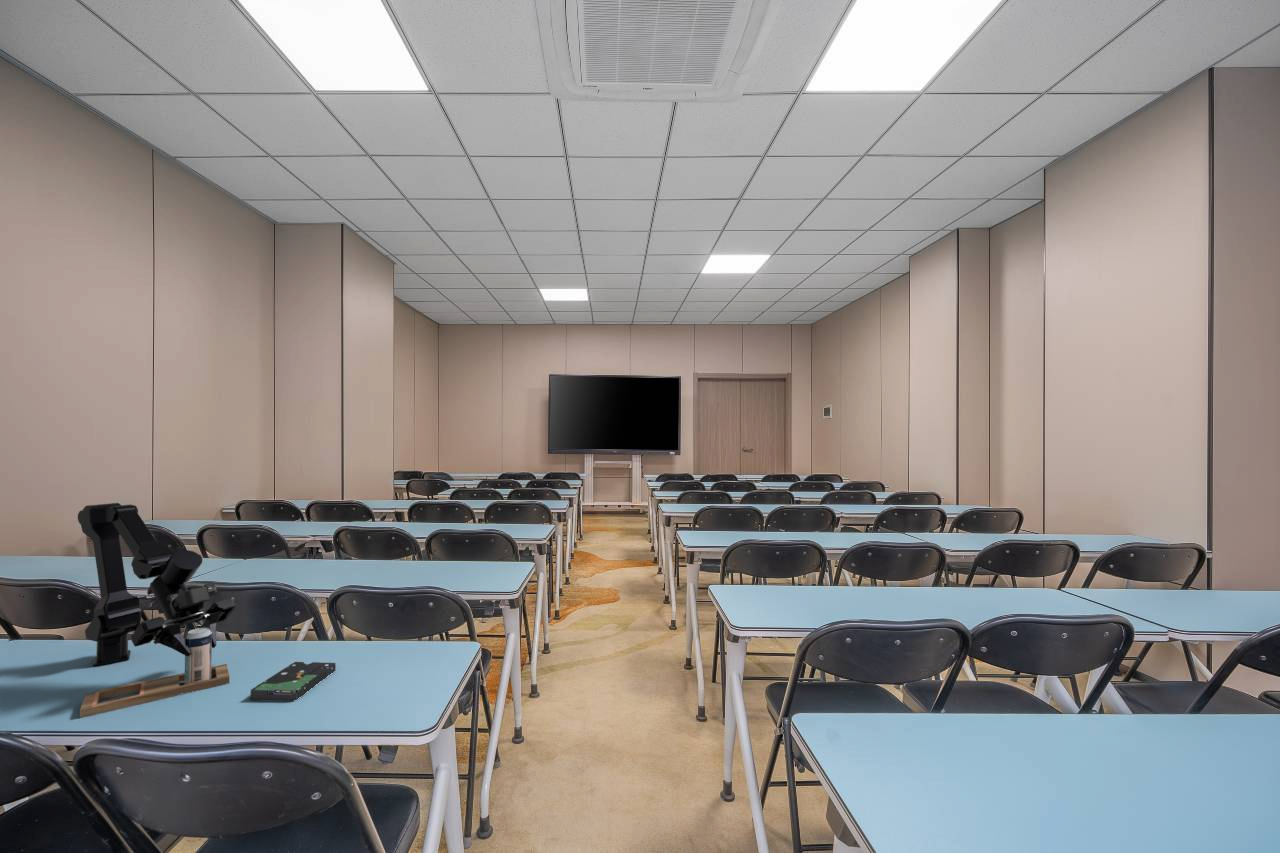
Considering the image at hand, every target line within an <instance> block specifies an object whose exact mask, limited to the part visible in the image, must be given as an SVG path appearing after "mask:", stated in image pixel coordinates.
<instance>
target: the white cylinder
mask: <svg viewBox="0 0 1280 853" xmlns="http://www.w3.org/2000/svg"><path fill="white" fill-rule="evenodd" d="M184 639H185V641H186V643H187V644H188V646H189V648H190V651H191V655H190V656H185V655H184V673H185V680H184V681H183V682H184V684H183V685H186V684H191V683H195V682H200V681H204V680H208V679H212V675H211V667H212V657H213V656H212V655H213V654H212V653H213V652H212V649H213V648H212V632H211V631H210V629H209V628H200V627H198V628H194V629H190V630H189V631H187V633H186V635H185V637H184Z"/></svg>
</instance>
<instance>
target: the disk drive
mask: <svg viewBox="0 0 1280 853" xmlns="http://www.w3.org/2000/svg"><path fill="white" fill-rule="evenodd" d="M336 665H337V664H336V662H320V661H319V662H317V661H314V662H311V663H308V664H307V663H305V662H304V661H294V662H293V663H290V664H289V665H288V666H286V667H284V668H283V669H281V670H279V671H278V672H277V673H275V674H274V675H272V676H270V677H269V678H267V679H266V680H264V681H263V682H261V683H259V684H257V685H256V686H254V687H252V688H251V689H250V701H265V700H282V701H281V702H295V701H294V700H297V699H298V698H299V697H301V696H302V697H304V696H305V695H306V694H307V693H306V692H307V691H309V690H310V689H311V688H313V687H314V686H315V685H316V684H318V683H319V682H320V681H322V680H323V679H325V678H326V677H327V676H328V675H330V674H331V673H333V672H334V671H335V672H336ZM335 672H334V673H335ZM334 673H333V674H334ZM330 676H331V675H330ZM326 679H327V678H326ZM326 679H325V680H326ZM322 682H323V681H322ZM318 685H319V684H318ZM314 688H315V687H314ZM314 688H313V689H314ZM310 691H311V690H310ZM310 691H309V692H310ZM305 693H306V694H305ZM304 694H305V695H304ZM303 695H304V696H303ZM302 697H301V698H302ZM299 699H300V698H299ZM299 699H298V700H299ZM288 700H289V701H288ZM298 700H297V701H298Z"/></svg>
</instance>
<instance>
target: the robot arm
mask: <svg viewBox="0 0 1280 853" xmlns="http://www.w3.org/2000/svg"><path fill="white" fill-rule="evenodd" d="M77 521H78V523H79V525H80V528H81V531H82V533H83V534H84V535H85V536H86V537H88V538H89V539H90V540H91V541H92V544H93V549H94V557H95V558H94V559H95V565H96V571H97V579H98V586H99V594H100V598H99V601H98V603H97V604H96V605H95V607H94V609H93V618H92V620H91V621H90V622H89V624H88V625H87V627H86V629H85V630H84V633H85V638H86V640H89V641H91V642H96V656H95V657H94V659H93V663H92V666H93V667H96V666H102V665H108V664H112V663H118V662H123V661H127V660H128V661H129V660H130V656H131V652H132V650H130V649H129V633H131V632H133V633H132V634H131V636H130V637H131V638H130V640H131V642H132V644H133V646H134V647H139V646H143V645H145V644H146V645H147V644H150V643H151V642H152V641H153V639H154V641H153V644H154V645H157V644H160V645H162V646H165V647H167V648H169V649H172V650H174V651H176V652H178V653H180V654H181V655H183V656H184V657H185V656H190V655H191V651H190V648H189V646H188V644H187V643H186V641H185V637H184V636H183V634H182V632H181V627H183V626H187V625H190V624H193V623H197V622H199V623H200V627H199V628H209V629H210V631H211V632H212V649H215V647H216V646H217V624H218V623H221V622H224V621H225V620H227V619H228V618H229V616H230V615H231V614H232V612H233V611H234V610H235V609H236V607H237V605H236V604H235V602H234V600H232V599H230V598H227V599H223V600H220V601H216V602H213V603H212V604H211V605H210V607H209V608H208V609H206V610H203V611H202V610H201V609H203V608H204V607H205V604H204V603H206V602H208V601H212V598H214V597H216V596H217V595H218V588H217V586H216V585H215V584H214V582H210V583H209V582H208V583H205V584H204V585H202V586H201V587H199V588H195V589H190V590H189V589H188V587H187V585H186V583H188V582H189V581H190V580H191V579H192V577H193V576H194V575H195V574H196V572H197V570H198V569H199V568H200V567H201V565H202V563H203V557H202V555H200V554H199V553H197V552H195V551H193V550H189V549H187V548H186V547H185V546H182V547H175V548H174V550H173V549H171V547H169V546H168V545H166V544H165V543H164V544H163V543H160V542H158V541H157V540H156V538H155V537H154V534H152V532H151V530H150V529H149V527H147V525H146V523H145V522H144V520H143V518H142V517H141V516H140V515H139V509H138V507H137V505H135V504H122V505H121V503H119V502H112V503H111V502H110V503H103V504H91V505H90V504H88V505H85V506H84V507H83V509H82V510H80V511H78V514H77ZM120 537H121V538H122V540H123V541H124V543H125V544H126V546H127V547H128V549H129V550H130V552H131V553H132V556H133V558H132V561H131V567H132V570H133V574H134V575H135V576H136V577H137V578H138V579H140V580H148V579H152V578H154V579H153V580H152V581H151V582H150V583H149V587H148V589H147V592H146V593H147V595H148V596H149V595H153V596H154V597H155V599H156V602H157V604H158V605H159V607H158V610H157V612H158V614H159V615H160V614H161V615H162V614H163V615H164V617H165V618H166V619H164V617H162V616H158V617H155V618H154V617H153V618H150V619H147V620H142V617H143V611H142V609H141V606H140V598H139V597H138V596H137V595H134V596H133V595H132V594H131V593H130V592H128V588H127V587H128V586H127V580H126V574H125V566H124V561H123V553H122V546H121V539H120ZM200 610H201V611H200Z"/></svg>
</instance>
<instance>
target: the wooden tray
mask: <svg viewBox="0 0 1280 853" xmlns="http://www.w3.org/2000/svg"><path fill="white" fill-rule="evenodd" d="M214 675H216V676H215V677H213V678H211V679H208V680H204V681H200V682H195V683H191V684H186V685H185V684H183V685H180V683H181V681H183V682H184V680H185V672H182V673H177V674H172V675H169V676H164V677H159V678H155V679H149V680H141V681H137V682H133V683H128V684H124V685H119V686H115V687H110V688H106V689H99V690H95V691H93V692H89V693H85V694H84V698H83V700H82V703H81V706H80V710H79V719H82V718H85V717H91V716H95V715H99V714H103V713H108V712H112V711H116V710H121V709H125V708H129V707H133V706H138V705H142V704H146V703H151V702H155V701H159V700H164V699H167V698H172V697H175V696H174V695H177V696H179V695H178V694H181V693H185V694H187V693H186V692H190V693H193V692H192V691H194V692H197V691H196V690H198V691H202V690H201V689H203V690H205V689H206V688H207V689H211V688H214V686H215V687H218V686H217V685H220V686H222V684H224V685H227V684H226V683H228V684H230V673H229V669H228V664H227V663H224V664H220V665H219V664H218V665H215V666H211V676H214ZM210 687H211V688H210ZM137 692H139V694H136V695H132V696H127V697H123V698H119V699H113V700H108V701H104V702H100V701H101V700H104V699H105V700H106V699H111V698H115V697H118V696H119V695H120V696H123V695H127V694H128V695H129V694H132V693H137ZM181 695H182V694H181ZM99 702H100V703H99Z"/></svg>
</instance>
